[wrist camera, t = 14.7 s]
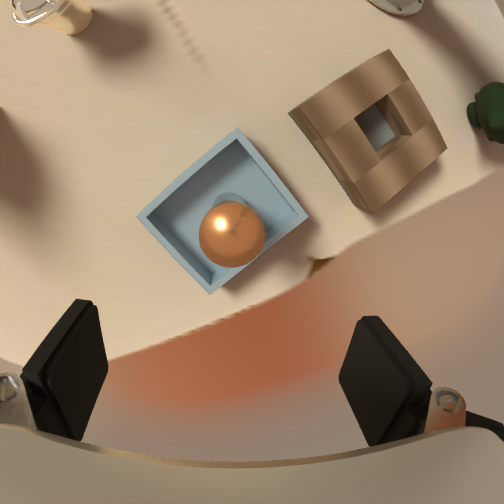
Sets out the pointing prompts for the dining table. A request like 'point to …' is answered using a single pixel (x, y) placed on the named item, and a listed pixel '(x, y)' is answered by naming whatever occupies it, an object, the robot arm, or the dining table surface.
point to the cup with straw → (53, 14)
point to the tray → (202, 196)
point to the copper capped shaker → (231, 232)
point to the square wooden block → (371, 130)
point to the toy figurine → (489, 111)
